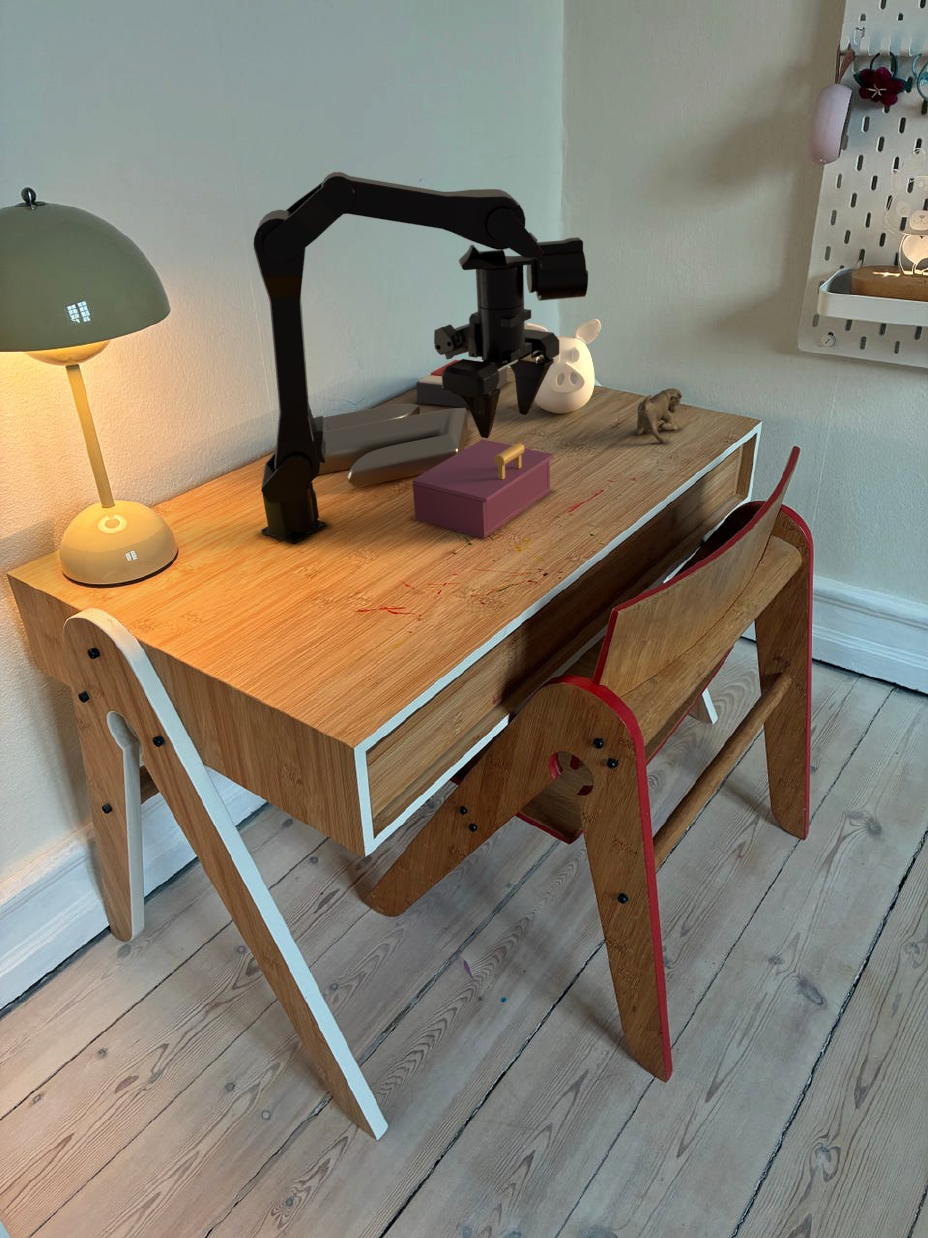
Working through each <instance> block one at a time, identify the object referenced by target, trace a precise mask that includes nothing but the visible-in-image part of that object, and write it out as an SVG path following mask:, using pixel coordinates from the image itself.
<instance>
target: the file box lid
mask: <svg viewBox="0 0 928 1238" xmlns="http://www.w3.org/2000/svg"><path fill="white" fill-rule="evenodd" d="M553 459H554V453H549V452H545V451H540V450H535V449H530V448H526V447H525V445H524V444H523V443H522V442H515V443H514V444H508V443H507V444H506V443H502V442H498V441H493V440H488V439H485V438H481V439H480V440H478V441H476V442H475V443H473V444H472V445H469V446H468V447H466V448H463V451H461V452H459V453H457V454H456V455H454V456H452V457H451V458H449V459H447V460H445V461H444V462H442V463H440V464H439V465H437V466H435V467H433V468H432V469H430V470H428V471H427V472H425V473H423V474H419V475H417V476H416V477H414V478H413V479H412V480H411V482H412V483H411V484H412V485H413V484H415V485H419V486H423V487H427V488H431V489H435V490H439V491H443V492H447V493H450V494H454V495H458V496H462V497H466V498H470V499H474V500H478V501H482V502H486V503H487V502H488V501H490V500H491V499H493V498H494V497H496V496H497V495H499V494H500V493H502V492H503V491H505V490H506V489H508V488H509V487H511V486H512V485H514V484H515V483H517V482H518V481H520V480H521V479H523V478H524V477H526V476H527V475H529V474H530V473H532V472H533V471H535V470H536V469H538V468H539V467H541V466H542V465H544V464H545V463H547V462H548V461H552V460H553Z"/></svg>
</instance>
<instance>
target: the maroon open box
mask: <svg viewBox="0 0 928 1238" xmlns="http://www.w3.org/2000/svg"><path fill="white" fill-rule="evenodd" d="M550 461H551V460H550ZM550 461H548V462H547V463H545V464H544V465H542V466H541V467H539V468H538V469H536V470H535V471H533V472H532V473H530V474H529V475H527V476H526V477H524V478H523V479H521V480H520V481H518V482H517V483H515V484H514V485H512V486H511V487H509V488H508V489H506V490H505V491H503V492H502V493H500V494H499V495H497V496H496V497H494V498H493V499H491V500H490V501H488V502H487V503H486V502H482V501H478V500H474V499H470V498H466V497H462V496H458V495H454V494H450V493H447V492H443V491H439V490H435V489H431V488H427V487H423V486H419V485H415V484H412V495H413V506H414V515H415V520H416V521H420V522H423V523H428V524H430V525H434V526H437V527H441V528H445V529H447V530H452V531H456V532H459V533H463V534H467V535H471V536H474V537H478V538H482V539H487V537H489V536H490V535H492V534H493V533H494V532H496V531H497V530H498V529H500V528H501V527H503V526H504V525H505V524H507V523H508V522H510V521H511V520H513V519H514V518H516V517H517V516H518V515H520V514H521V513H522V512H524V511H526V510H527V509H528V508H529V507H531V506H532V505H534V504H535V503H537V502H538V501H540V500H541V499H542V498H543V497H545V496H546V495H548V494H549V493H550V492H551V469H550V468H551V462H550Z"/></svg>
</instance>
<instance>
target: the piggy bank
mask: <svg viewBox="0 0 928 1238" xmlns="http://www.w3.org/2000/svg"><path fill="white" fill-rule="evenodd" d="M601 328H602V323H601V321H600V320H599V318H593V319H590V320H587V321H585V322H582V323H580V324H578V325H577V326H576V327H574V330H573V336H572V335H571V336H570V335H555V336H556V337H557V338H558V339H559V355H557V356H555V357H554V358H553V359H554V363H553V364H552V365H551V366H550V368H549V370H548V372H547V374H546V376H545V378H544V380H543V382H542V384H541V386H540V388H539V390H538V392H537V395H536V397H535V399H534V401H533V402H535V404H536V405H537V406H538V407H540V408H541V409H543V410H544V411H547V412H549V413H553V414H568V413H573V412H575V411H577V410H579V409H581V408H583V407H584V406H585V405H586V404H587V403H588V402H589V401H590V399H591V397H592V395H593V392H594V388H595V369H594V368H595V367H594V364H593V359H592V356H591V353H590V350H589V349H588V346H587V345H588V344H590V343H591V342H593V341H594V340H595V339H596V338H597V337H598V335H599V334H600V332H601ZM525 329H530V330H537V331H545V332H549V331H548V330H547V328H546V327H544V326H541V325H539V324H534V323H531V322H525Z"/></svg>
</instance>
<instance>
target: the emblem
mask: <svg viewBox="0 0 928 1238" xmlns="http://www.w3.org/2000/svg"><path fill="white" fill-rule="evenodd" d="M323 417H324V422H323V438H324V440H325V442H326V453H325V463H322V462H320V470H319V474H318V476H320V475H325V474H330V473H336V472H342V471H346V470H349V471H348V472H347V482H348V483H349V484H350V485H351V486H352V487H355V488H362V487H367V486H371V485H377V484H381V483H384V482H385V483H386V482H389V481H393V480H399V479H403V478H407V477H413V476H419V475H421V474H423V473H425V472H427V471H428V470H430V469H432V468H433V467H435V466H437V465H439V464H440V463H442V462H444V461H445V460H447V459H449V458H451V457H452V456H454V455H456V454H457V453H459V452H461V451H463V450H464V449H465V443H466V441H467V440H466V439H467V436H468V430H469V428H468V427H469V426H468V425H469V424H468V411H467V408H461V407H453V408H447V409H442V410H436V411H430V412H425V413H421V407H420V405H418V404H416V403H397V404H391V405H384V406H378V407H373V408H367V409H361V410H355V411H351V412H345V413H339V414H334V415H328V416H323Z"/></svg>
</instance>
